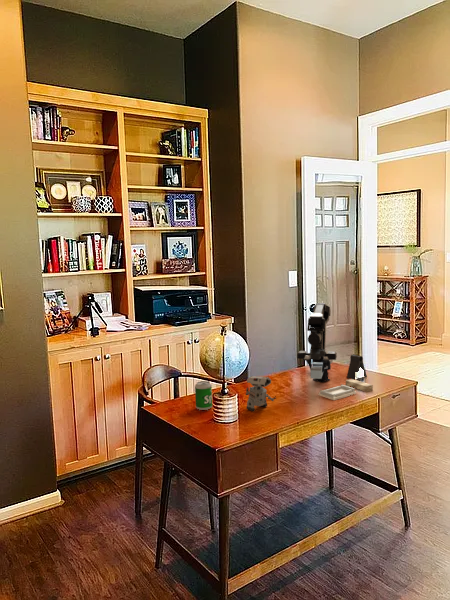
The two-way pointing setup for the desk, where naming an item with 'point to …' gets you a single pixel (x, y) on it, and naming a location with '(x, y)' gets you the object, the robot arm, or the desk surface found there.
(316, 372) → the light blue block
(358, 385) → the tan rectangular bar
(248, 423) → the desk surface
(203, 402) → the soda can
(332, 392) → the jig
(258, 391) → the figurine
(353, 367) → the phone stand
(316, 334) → the robot arm
